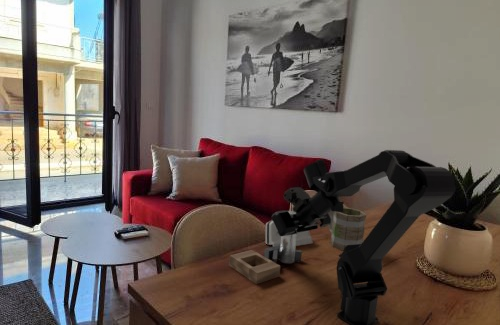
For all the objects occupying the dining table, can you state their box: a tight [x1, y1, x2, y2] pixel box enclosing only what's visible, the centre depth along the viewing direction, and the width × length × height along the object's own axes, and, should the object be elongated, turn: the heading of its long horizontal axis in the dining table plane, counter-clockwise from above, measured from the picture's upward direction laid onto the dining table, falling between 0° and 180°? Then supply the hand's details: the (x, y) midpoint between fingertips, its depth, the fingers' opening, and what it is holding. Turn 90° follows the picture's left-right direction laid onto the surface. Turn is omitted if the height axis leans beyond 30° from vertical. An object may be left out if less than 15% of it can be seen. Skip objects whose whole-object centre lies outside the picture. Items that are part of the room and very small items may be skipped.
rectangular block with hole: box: [228, 249, 281, 285], centre depth 91 cm, size 12×8×3 cm, turn 38°
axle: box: [278, 210, 297, 264], centre depth 96 cm, size 4×4×14 cm
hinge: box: [265, 219, 314, 247], centre depth 114 cm, size 17×5×10 cm, turn 119°
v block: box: [263, 245, 303, 264], centre depth 99 cm, size 7×12×3 cm, turn 128°
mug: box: [328, 207, 367, 252], centre depth 117 cm, size 16×11×12 cm
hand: (285, 233), depth 97 cm, fingers closed on axle, 4 cm apart
